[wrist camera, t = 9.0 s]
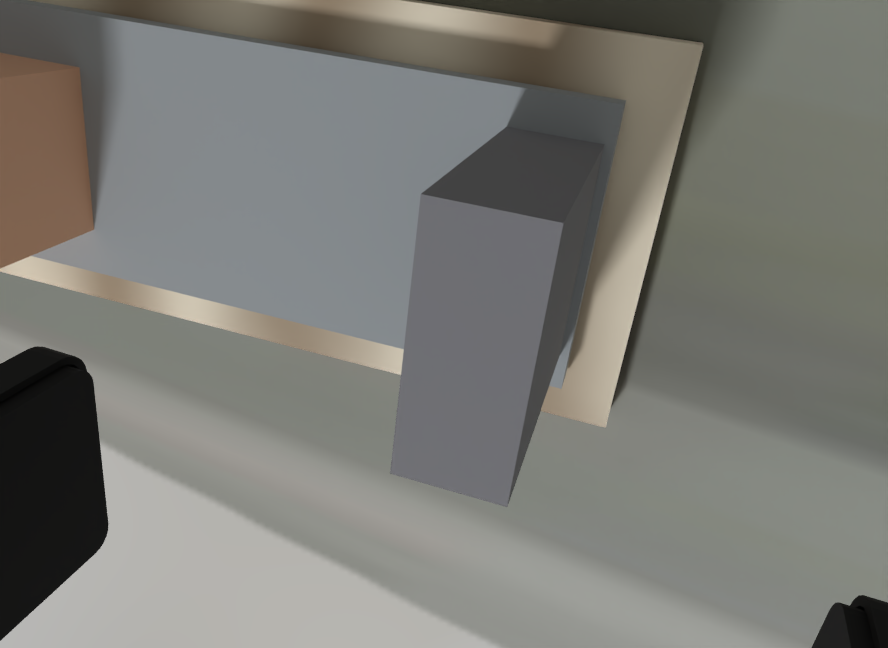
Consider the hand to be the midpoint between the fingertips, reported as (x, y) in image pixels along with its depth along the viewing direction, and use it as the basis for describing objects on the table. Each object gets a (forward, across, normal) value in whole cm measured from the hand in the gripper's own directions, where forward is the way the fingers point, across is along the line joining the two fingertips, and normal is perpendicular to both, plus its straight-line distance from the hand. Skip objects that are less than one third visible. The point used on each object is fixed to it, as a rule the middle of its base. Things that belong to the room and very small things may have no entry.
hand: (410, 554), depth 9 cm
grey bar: (+13, +11, 0) cm, 17 cm away
